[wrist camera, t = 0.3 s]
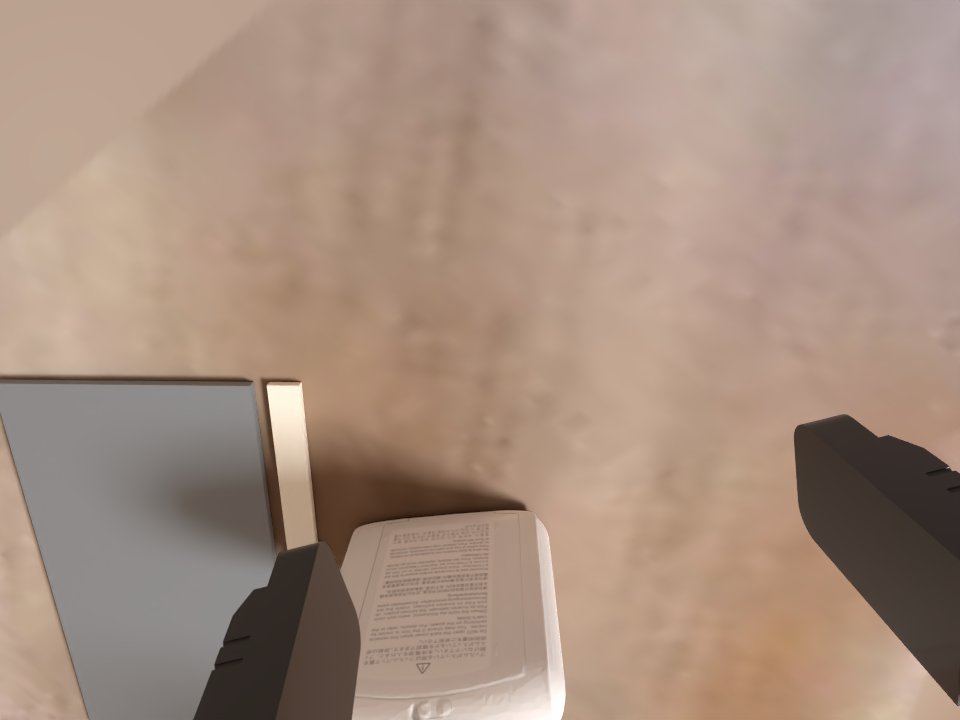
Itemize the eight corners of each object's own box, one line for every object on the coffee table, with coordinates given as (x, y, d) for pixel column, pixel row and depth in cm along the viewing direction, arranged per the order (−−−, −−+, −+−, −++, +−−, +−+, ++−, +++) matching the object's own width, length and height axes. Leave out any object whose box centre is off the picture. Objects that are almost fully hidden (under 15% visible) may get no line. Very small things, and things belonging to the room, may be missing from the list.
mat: (-1, 379, 31) (-9, 383, 31) (301, 382, 31) (298, 386, 30) (96, 721, 39) (91, 729, 39) (336, 725, 39) (335, 732, 38)
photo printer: (358, 585, 35) (294, 821, 24) (342, 518, 34) (265, 735, 22) (551, 568, 35) (582, 801, 23) (544, 498, 33) (572, 711, 22)
